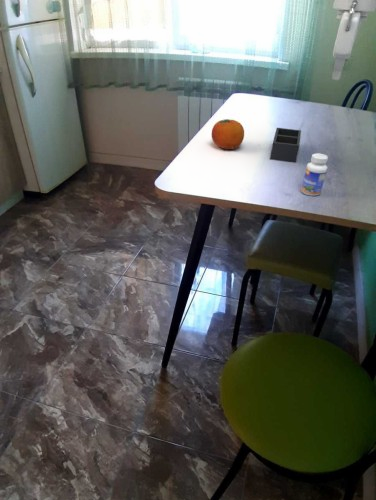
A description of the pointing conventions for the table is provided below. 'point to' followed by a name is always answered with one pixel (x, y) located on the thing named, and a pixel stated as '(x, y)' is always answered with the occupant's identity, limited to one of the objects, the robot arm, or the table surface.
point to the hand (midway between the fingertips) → (337, 75)
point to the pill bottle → (314, 175)
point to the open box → (285, 145)
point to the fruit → (228, 134)
